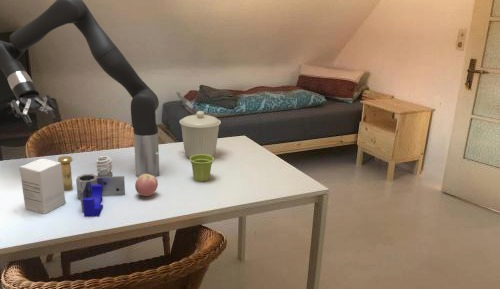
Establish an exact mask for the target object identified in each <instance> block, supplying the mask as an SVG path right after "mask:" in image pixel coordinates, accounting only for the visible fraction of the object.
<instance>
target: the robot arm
mask: <svg viewBox="0 0 500 289" xmlns="http://www.w3.org/2000/svg"><path fill="white" fill-rule="evenodd" d="M68 24H73V25H74V26H75V27H76V28H77V29H78V31H79V32H80V33H81V34H82V35H83V37H84V38H85V40H86V43H87V45H88V47H89V50H90V53H91V55H92V57H93V59H94V60H95V61H96V63H97V64H98V65H99V66H100V68H101V69H102V70H103V71H104V72H105V74H107V76H109V77H110V78H112V79H113V80H114V81H116V82H117V83H118V84H120V85H121V86H122V87H123V88H124V89H125V90H126V92H127V93H128V94H129V96H130V97H131V98H132V99H131V102H130V116H131V117H130V119H131V126H132V129H133V146H134V147H133V148H134V162H135V165H134V166H135V169H134V170H135V175H136V176H137V177H139V176H140V175H142V174H150V175H153V176H154V177H157V176H160V156H159V155H160V154H159V149H160V148H159V127H158V125H157V120H156V119H157V116H156V111H157V109H158V108H159V106H160V105H159V104H160V103H159V102H160V100H159V98H158V95H157V94H156V93H155V92H154V91H153V90H152V89H151V88H150V87H149V86H148V84H146V82H144V81H143V78H141V77H140V76H139V75H138V73H137V72H136V70H135V69H134V67H132V65H131V64H130V62H129V61H128V60H127V59H126V57H125V55H124V54H123V53H122V52H121V50H120V49H119V48H118V47H117V45H116V44H115V43H114V42H113V40H112V39H111V38H110V36H108V34H107V33H106V32H105V31H104V29H103V28H102V27H101V26H100V24H99V23H98V22H97V20H96V19H95V17H94V15H93V14H92V12H91V11H90V9H89V7H88V6H87V4H86V3H85V2H84V1H83V0H55V1H54V2H53V3H52V4H51V5H50V6H49V7H48V8H47V9H45V11H43V12H42V13H41V14H40V15H39V16H38V17H36V18H34V19H33V20H31V21H29V22H28V23H26V24H25V25H23V26H21V27H20V28H18V29H17V30H15V31H13V32H12V33H11V34H10V36H9V41H10V42H6V41H3V40H2V39H0V70H1V71H2V73H3V74H4V76H5V78H6V79H7V82H8V85H9V87H10V90H12V93H13V95H14V96H15V98H16V100H15V99H12V101H11V102H10V104H9V105H10V108H11V110H12V112H13V114H14V116H15V118H22V120H23V121H24V123H25V125H27V126H28V127H31V126H32V125H33V121H32V119H31V118H30V115H29V114H28V112H34V111H39V110H40V111H41V112H45V113H46V114H47V117H48V118H49V120H50V122H51V123H54V122H55V121H56V118H57V117H56V114H55V110H56V109H57V105H55V102H54V101H53V99H52V97H51V96H50V95H49V94H47V95H46V96H43V97H42V96H41V95H40V93H39V90H38V89H37V87H36V85H35V84H34V82H33V80H32V78H31V76H30V75H29V74H28V72H27V70H26V69H25V66H24V65H23V64H22V62H20V60H19V58H20V57H21V56H22V55H23V54H24V53H25V52H26V50H28V49H29V48H31V47H32V46H33V45H34V46H35V45H36V44H38V43H39V42H40V41H42V40H43V39H44V38H45V37H46V36H47V35H48V34H49V33H50V32H52V31H53V30H56V29H57V28H59V27H62V26H64V25H68ZM19 106H20V107H22V108H23V110H22V112H21V110H20V107H19Z"/></svg>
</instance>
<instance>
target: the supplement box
mask: <svg viewBox="0 0 500 289" xmlns="http://www.w3.org/2000/svg"><path fill="white" fill-rule="evenodd" d="M19 174H20V181H21V187H22V188H21V190H22V194H23V202H24V209H26V210H29V211H33V212H37V213H40V214H44V215H46V214H48V213H50V212H51V211H53V210H55V209H57V208H59V207H61V206H63V205H65V204H66V195H65V191H64V186H63V178H62V169H61V163H60V162H58V161H54V160H49V159H46V158H39V159H37V160H34V161H31V162H28V163H26V164H23V165H20V166H19Z"/></svg>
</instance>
